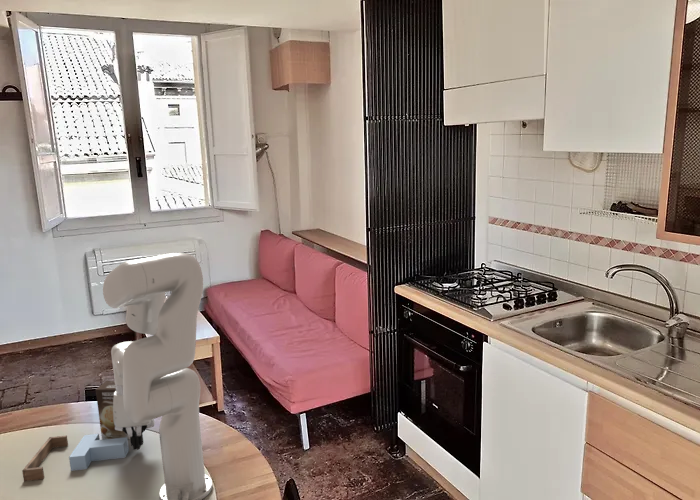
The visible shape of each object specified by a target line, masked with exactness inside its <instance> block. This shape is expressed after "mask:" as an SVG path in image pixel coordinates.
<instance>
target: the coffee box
mask: <svg viewBox="0 0 700 500" xmlns="http://www.w3.org/2000/svg"><path fill="white" fill-rule="evenodd" d="M115 391H116V388H115V380H105V381H104V382H103V383H102V384H100V385H99V386H98V387H97V388H96V389H95V395H96V402H97V412H98V420H99V426H100V428H99V429H100V434H101V435H100V436H101V440H105V439H115V438H125V437H127V439H128V441H129V440H130V437H129V436H128V434H126V433H125V432H124V431H118V430H115V424H114V418H113V398H114V393H115ZM134 428H135V431H136V432H137V426H134Z"/></svg>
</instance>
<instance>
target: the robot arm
mask: <svg viewBox="0 0 700 500" xmlns="http://www.w3.org/2000/svg"><path fill="white" fill-rule="evenodd" d="M203 290H204V276H203V272H202V268H201V266H200V262H199V261H198V259H197V258H196V257H195V256H193V255H191V254H189V253H184V252H174V253H173V252H171V253H166V254H161V255H155V256H148V257H143V258H138V259H131V260H127V261H124V262H121V263H120V264H119V265H117V266H116V267H115V268H113V269H112V270H111V271H110V272H109V273H108V274H107V275H106V277H105V279H104V281H103V286H102V294H103V299H104V301H105V303H106V304H107V305H108V307H110V308H111V309H119V308H123V307H126V314H125V324H126V325H127V327H128V328H129V329H130V330H132V331H133V332H135V333H139V334H145V335H151V336H147V337H143V338H139V339H136V340H133V341H132V340H130V341H129V340H128V341H123V342H119V343H118V342H117V344H114V345H113V346H112V347H111V351H110V354H111V363H112V371H113V377H114V381H115V388H116V391H115V393H114V398H113V418H114V424H115V430H118V431H124V432H125V433H126V434H128V436H129V437H130V439H129V440H130V446H131V447H132V450H133V451H135V450H140V449H141V447H142V446H143V445H144V436H143V433H144V432H145V431H146V430H147V429H150V428H153V427H155V425H156V422H155V419H159V418H161V419H160V422H159V423H160V424H159V429H158V433H159V442H160V453H161V460H162V469H163V470H162V471H163V478H164V484H163V485H162V486H161V487H160V489H159V500H203V499H205V498H206V497H207V496H208V495H209V494H210V493H211V491H212V489H213V480H212V478H211V477H210V476H208V475H207V474H206V472H205V464H204V463H205V461H204V452H203V443H202V434H201V433H202V432H201V424H200V423H201V422H200V421H201V420H200V401H201V400H200V398H201V381H200V377H199V375H198V374H197V372H196V371H195V370H194V369H191V368H189V367H190V366H191V365H192V364H193V362H194V361H195V356H196V348H197V347H196V345H197V321H198V320H197V318H198V311H199V308H200V304H201V301H202V295H203ZM169 292H171V293H170V295H169V296H168V297H167V298H166V300H165V297H166V293H169ZM134 426H137V432H136V431H135V428H134Z"/></svg>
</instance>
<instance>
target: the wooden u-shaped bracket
mask: <svg viewBox="0 0 700 500" xmlns="http://www.w3.org/2000/svg"><path fill="white" fill-rule="evenodd" d="M68 446H69V439H68V435H60V436H58V435H57V436H49V437H48V439H47V440H46V441H45V442H44V443H43V444H42V445H41V447H40V449H39V450H37V452H36V453H35V454H34V455H33V457H32V458H31V460H29V462H28V463H27V464H26V465H25V466H24V468H23V469H22V470H21V471H22V478H23V479H22V480H23V481H24V482H28V481H29V482H30V481H36V480H37V481H38V480H43V479H45V473H44V467H43V466H40V465H41V463H42V462H43V461H44V460H45V458H46V457H47V456H48V455H49V454H50V452H51V451H52V450H53V448H62V447H63V448H64V447H68Z"/></svg>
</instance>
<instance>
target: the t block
mask: <svg viewBox="0 0 700 500" xmlns="http://www.w3.org/2000/svg"><path fill="white" fill-rule="evenodd" d="M129 451H130V449H129V440H128V439H127V437H125V438H115V439H100V434H99V433H92V434H91V433H90V434H85V435H83V437H82V438H81V439H80V441H79V442H78V444H77V445H76V446H75V447H74V449H73V451H72V452H71V454H70V455H69V457H68V460H69V467H70V471H71V472H72V471H81V470H87V469H88V467H90V464H91V462H95V461H104V460H113V459H114V460H115V459H124V458H126V457H127V454H128V453H129Z"/></svg>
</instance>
